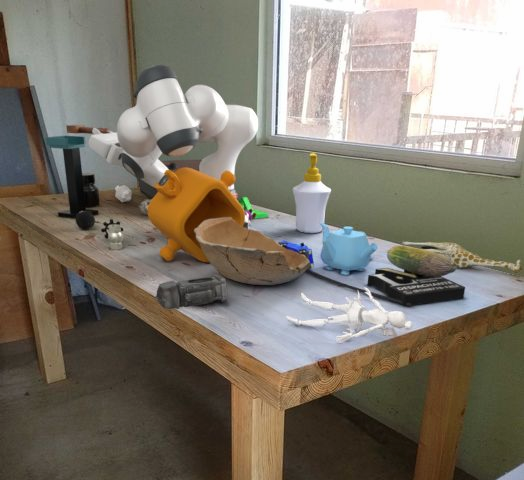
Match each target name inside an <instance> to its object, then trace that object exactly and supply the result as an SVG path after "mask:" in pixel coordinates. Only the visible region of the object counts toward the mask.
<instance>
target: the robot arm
mask: <svg viewBox="0 0 524 480" xmlns="http://www.w3.org/2000/svg"><path fill="white" fill-rule="evenodd" d="M136 79H137V80H136V81H135V90H134V91H133V92H132V98H133V99H135V102H136V104H135V106H133V107H129V108H127V109H126V110H124V111H123V112H122V113H121V115H120V116H119V117H118V118H119V119H118V121H117V124H116V131H115V132H114V131H111V130H109V133H106V134H103V133H100V130H99V129H98V128H99V127H93V130H92V133H93V134H91V135H90V137H89V138H88V139H89V140H88V142H87V143H88V147H89V148H90V149H91V150H93V151H94V152H95V153H96V154H98V155H99V156H100V157H102V158H104V159H106V160H105V161H106V162H107V163H108V164H110V165H115V166H120V167H123V168H124V169H125V170H126V172H128V173H129V174H131V175H132V176H133V177H135V178H136V179H137V178H140V179H141V180H143V181H144V182H146V183H147V184H149V185H151V186H152V187H154V188H155V186H154V185H155V183H158V184H159V185H160V186H162V185H163V184H164V183H165V182H166V181H167V179H168V177H167V176H166V175H165V174H164V173H165V171H166V170H169V169H168V168H167V167H166V166H165V165H164V164H163V163H162V162H161V161H162V160H160V157H161V156H162V155H164V156H167V157H180V156H183V155H185V154H188V153H189V152H190V151H191V150H192V149H194V148H195V147H196V145H197V143H208V144H210V143H211V144H218V147H217V150H216V151H215V152H213V153H211V154H208V155H206V156H205V157H204V158H203V159H201V160H202V161H201V162H200V165H199V172H201V173H203V174H206V175H208V176H210V177H213V178H215V179H217V180H221V175H222V173H223V172H224V171H230V172H231V173H233V174H234V175H235V174H236V173H235V172H236V164H237V160H238V158H239V155H240V153H241V151H242V150H243V149H244V148H245V147H246V145H248V144H249V143H250V142H252V141H253V139H254V138H255V137H256V135H257V133H258V130H259V120H258V116H257V114H256V112H255V111H254V110H253V109H252V107H248V106H244V105H239V104H226V103H225V101H224V98H222V96H221V95H220V93H218V92H217V90H215V89H214V88H212V87H211V86H209V85H206V84H196V85H193V86H191V87H189V88H188V90H186V92H185V93H184V92H183V88H182V87H181V85H180V83H179V78H178V77H177V74H176V73H175V71H174V70H173V68H172V67H170V66H169V65H166V64H157V65H152V66H149V67H148V68H146V69H143V70H142V71H141V72H140V73H139V74H138V77H137V78H136ZM100 128H105V127H103V126H102V127H101V126H100ZM228 189H229V191H230V192H231V193H232V194H233V196H234V197H235V198H236V199H237V200H238V198H239V196H238V194H239V193H237V191H236V188H235V183H234V184H233V185H232V186H228ZM248 221H249V217H248V215H245V222H244V225H243V227H245V228H248V229H249V230H250V225H249V223H248ZM305 272H307V273H309V274H311V275H313V276H316V277H317V278H320V279H322V280H324V281H327V282H329V283H333V284H335V285H338V286H341V287H344V288H346V289H350V290H353V291H357V292H358V291H359V293H363V294H366V293H365V292H366V291H365V289H364V288H360V287H357V286H354V285H350V284H347V283H344V282H341V281H338V280H336V279H333V278H330V277H327V276H325V275H322V274H320V273H318V272H315V271H313V270H311V269H310V270H309V269H307V270H306V271H305ZM370 292H371V295H372V297H375V298H376V297H377V298H380V299H384V300H386V301H390V302H392V303H393V302H394V303H396V304H400V305H402V301H400V300H397V299H394V298H390V297H387V295H383V294H380V293H376V292H373V291H370ZM406 305H407V306H406V307H412V305H411V303H407V304H406Z"/></svg>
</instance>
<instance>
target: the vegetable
mask: <svg viewBox="0 0 524 480" xmlns="http://www.w3.org/2000/svg"><path fill="white" fill-rule="evenodd" d="M386 257H387V260H388V262H389V263H390V264H392V265H393V266H394V267H396V268H398V269H400V270H403V271H404V270H406V271H409V272H412V273H415V274H419V275H427V276H441V277H444V276H448V275H449V274H451V273H454V272H455V271H457V265H456V263H454V262H453V261H451V260H450V259H449V258H447V257H445V256H443V255H440V254H438V253H434V252H431V251H427V250H425V249H422V248H418V247H415V246H414V247H413V246H408V245H403V246H402V245H395V246H392V247H390V248H389V249H388V251H387V252H386Z"/></svg>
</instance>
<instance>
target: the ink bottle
mask: <svg viewBox="0 0 524 480" xmlns="http://www.w3.org/2000/svg"><path fill="white" fill-rule="evenodd" d="M82 177H83V186H84V196H85V205H86V208H94V207H99V206H100V205H101V201H100V200H101V199H100V191H99V188H98V186H96V185H95V184H96V176H95V173H92V172H82Z"/></svg>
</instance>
